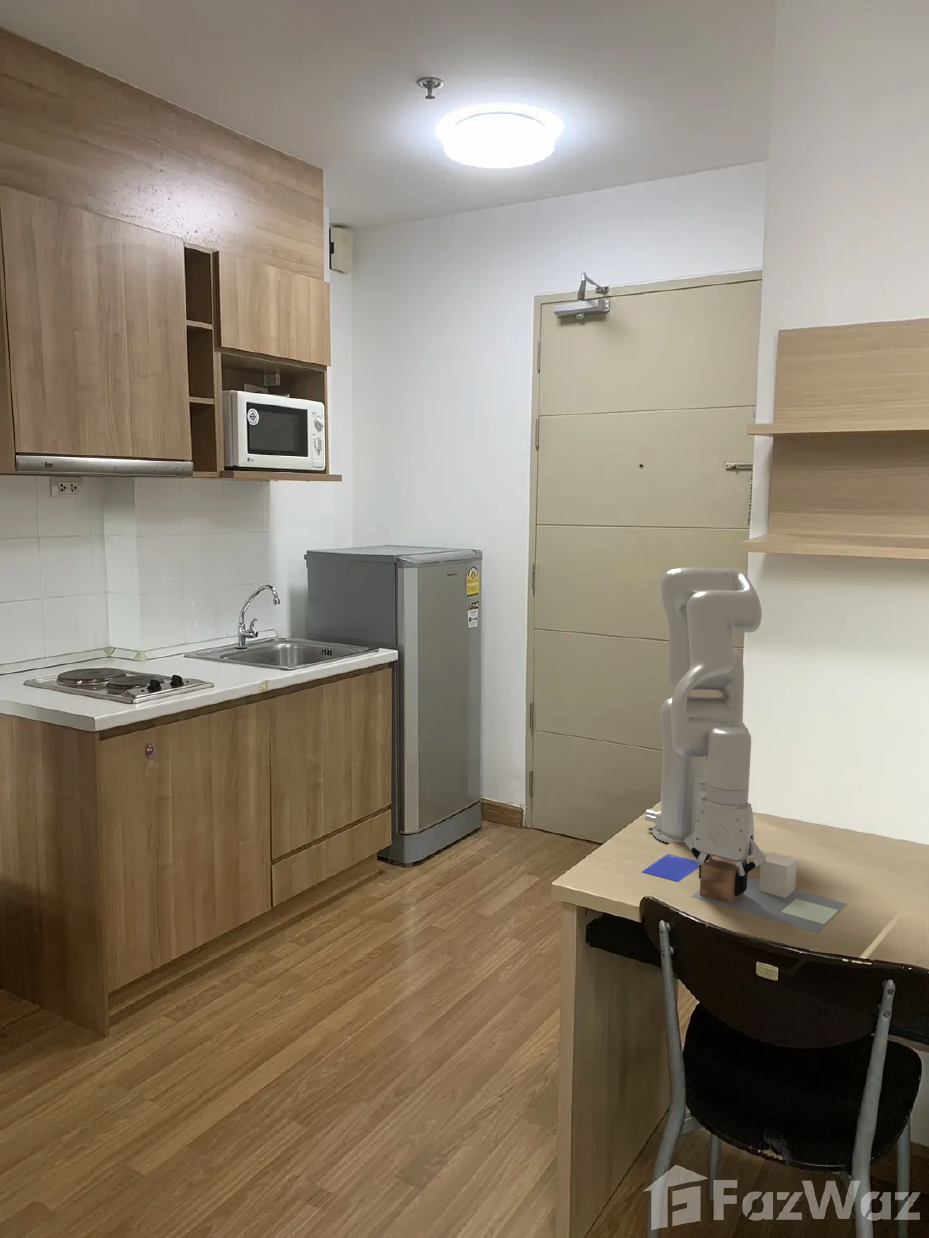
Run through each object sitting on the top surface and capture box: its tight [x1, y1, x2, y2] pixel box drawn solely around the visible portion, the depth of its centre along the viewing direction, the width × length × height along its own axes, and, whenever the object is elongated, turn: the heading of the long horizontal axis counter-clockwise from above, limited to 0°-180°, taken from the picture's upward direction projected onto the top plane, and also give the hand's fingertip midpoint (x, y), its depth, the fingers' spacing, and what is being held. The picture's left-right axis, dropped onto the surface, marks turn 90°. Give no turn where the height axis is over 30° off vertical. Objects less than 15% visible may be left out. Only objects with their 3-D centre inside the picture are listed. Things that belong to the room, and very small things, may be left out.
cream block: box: [759, 852, 798, 898], centre depth 174 cm, size 5×5×6 cm
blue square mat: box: [641, 853, 699, 883], centre depth 185 cm, size 2×8×12 cm
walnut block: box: [699, 856, 744, 904], centre depth 171 cm, size 6×6×6 cm
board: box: [691, 876, 848, 934], centre depth 170 cm, size 23×16×1 cm
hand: (722, 887), depth 171 cm, fingers closed on walnut block, 6 cm apart
